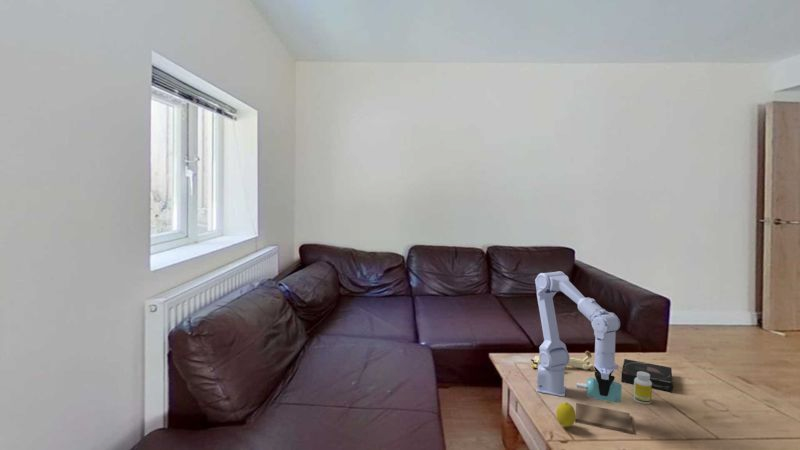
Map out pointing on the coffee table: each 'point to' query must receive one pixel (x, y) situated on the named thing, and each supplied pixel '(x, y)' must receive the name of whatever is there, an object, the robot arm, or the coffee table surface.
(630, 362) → the portable cd player
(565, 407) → the lemon
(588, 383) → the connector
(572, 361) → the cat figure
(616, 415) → the serving board
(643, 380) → the supplement bottle
